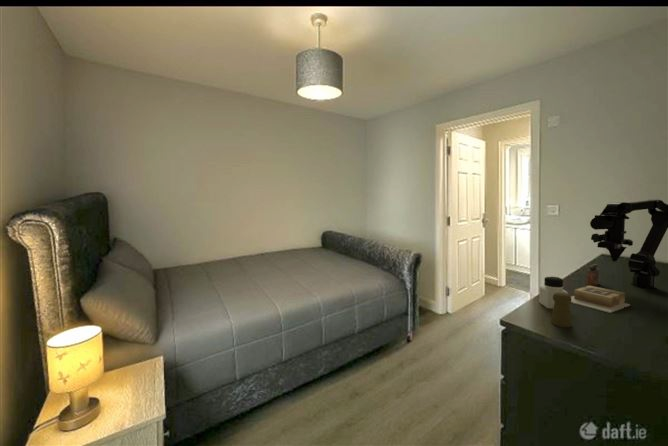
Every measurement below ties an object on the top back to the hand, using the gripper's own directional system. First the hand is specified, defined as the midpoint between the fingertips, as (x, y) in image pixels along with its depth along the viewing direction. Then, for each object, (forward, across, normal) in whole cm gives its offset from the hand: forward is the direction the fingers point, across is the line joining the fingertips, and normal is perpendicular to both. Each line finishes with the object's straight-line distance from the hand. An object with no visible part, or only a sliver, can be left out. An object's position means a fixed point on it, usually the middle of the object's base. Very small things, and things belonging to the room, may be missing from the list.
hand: (614, 261), depth 137 cm
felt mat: (+13, +30, +6) cm, 33 cm away
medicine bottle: (+13, +48, -1) cm, 50 cm away
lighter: (+13, 0, -8) cm, 15 cm away
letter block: (+10, +21, +6) cm, 24 cm away
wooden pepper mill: (+13, +64, +10) cm, 66 cm away
